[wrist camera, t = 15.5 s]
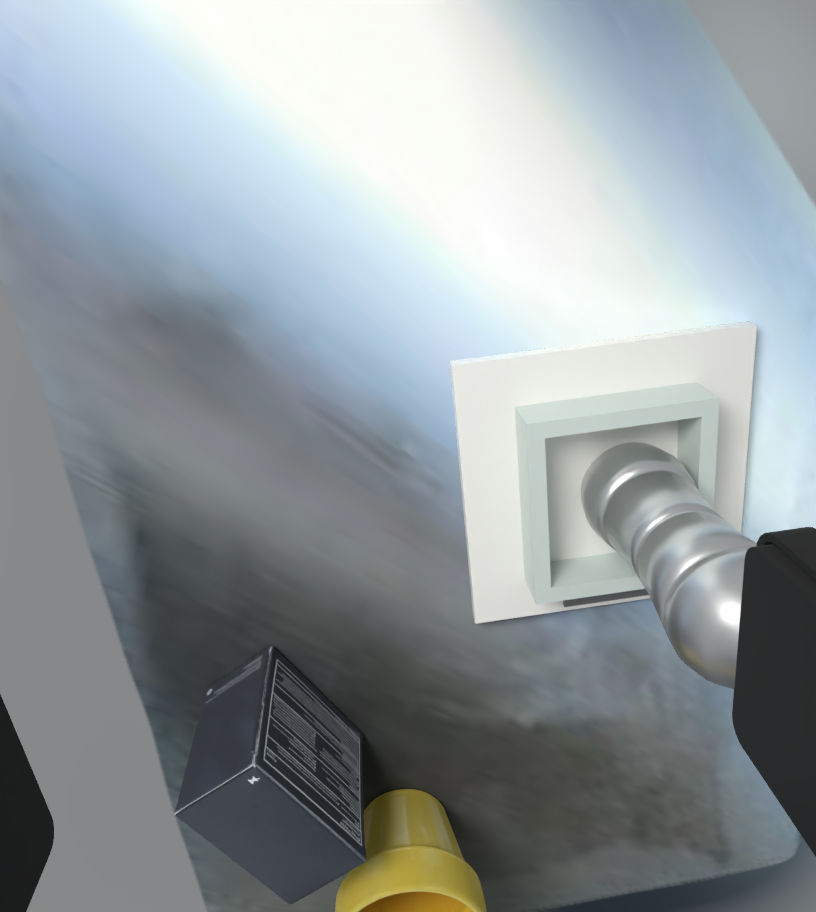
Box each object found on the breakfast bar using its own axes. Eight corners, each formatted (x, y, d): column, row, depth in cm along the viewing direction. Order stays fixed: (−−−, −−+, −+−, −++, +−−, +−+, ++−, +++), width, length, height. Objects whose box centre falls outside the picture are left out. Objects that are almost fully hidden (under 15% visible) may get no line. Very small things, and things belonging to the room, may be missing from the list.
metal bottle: (629, 410, 44) (834, 596, 26) (694, 479, 47) (926, 696, 28) (549, 481, 46) (690, 707, 27) (616, 545, 48) (788, 793, 30)
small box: (198, 690, 51) (165, 817, 41) (271, 640, 50) (255, 759, 40) (296, 777, 55) (286, 913, 45) (366, 733, 54) (371, 861, 44)
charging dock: (449, 361, 43) (459, 380, 40) (748, 321, 44) (785, 337, 40) (473, 614, 50) (483, 651, 47) (729, 577, 51) (760, 611, 47)
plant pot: (308, 835, 57) (302, 964, 48) (388, 748, 54) (397, 867, 45) (413, 883, 60) (427, 1013, 51) (494, 803, 57) (523, 925, 48)
